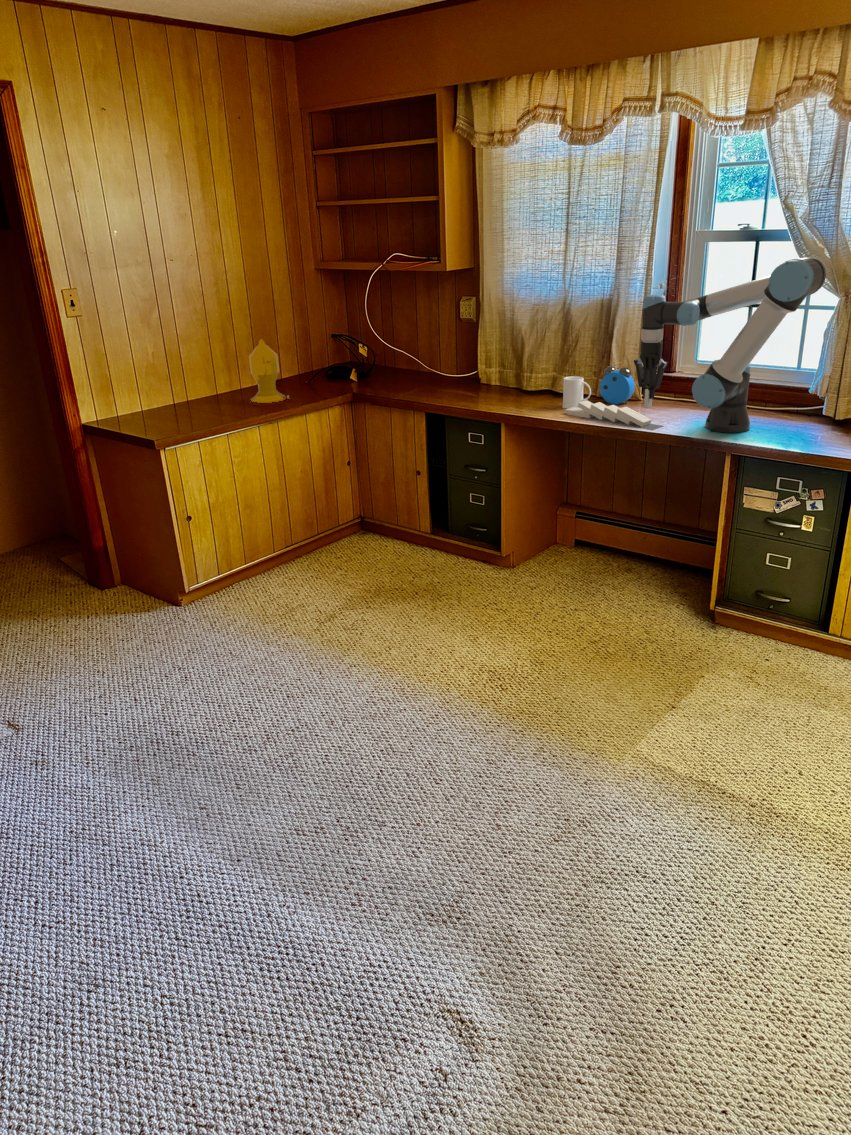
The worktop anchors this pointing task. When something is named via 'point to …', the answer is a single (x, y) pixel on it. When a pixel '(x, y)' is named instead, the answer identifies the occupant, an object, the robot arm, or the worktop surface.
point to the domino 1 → (578, 412)
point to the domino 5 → (634, 416)
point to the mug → (573, 391)
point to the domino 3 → (602, 411)
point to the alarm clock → (617, 385)
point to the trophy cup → (265, 374)
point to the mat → (648, 427)
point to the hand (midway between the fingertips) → (648, 407)
